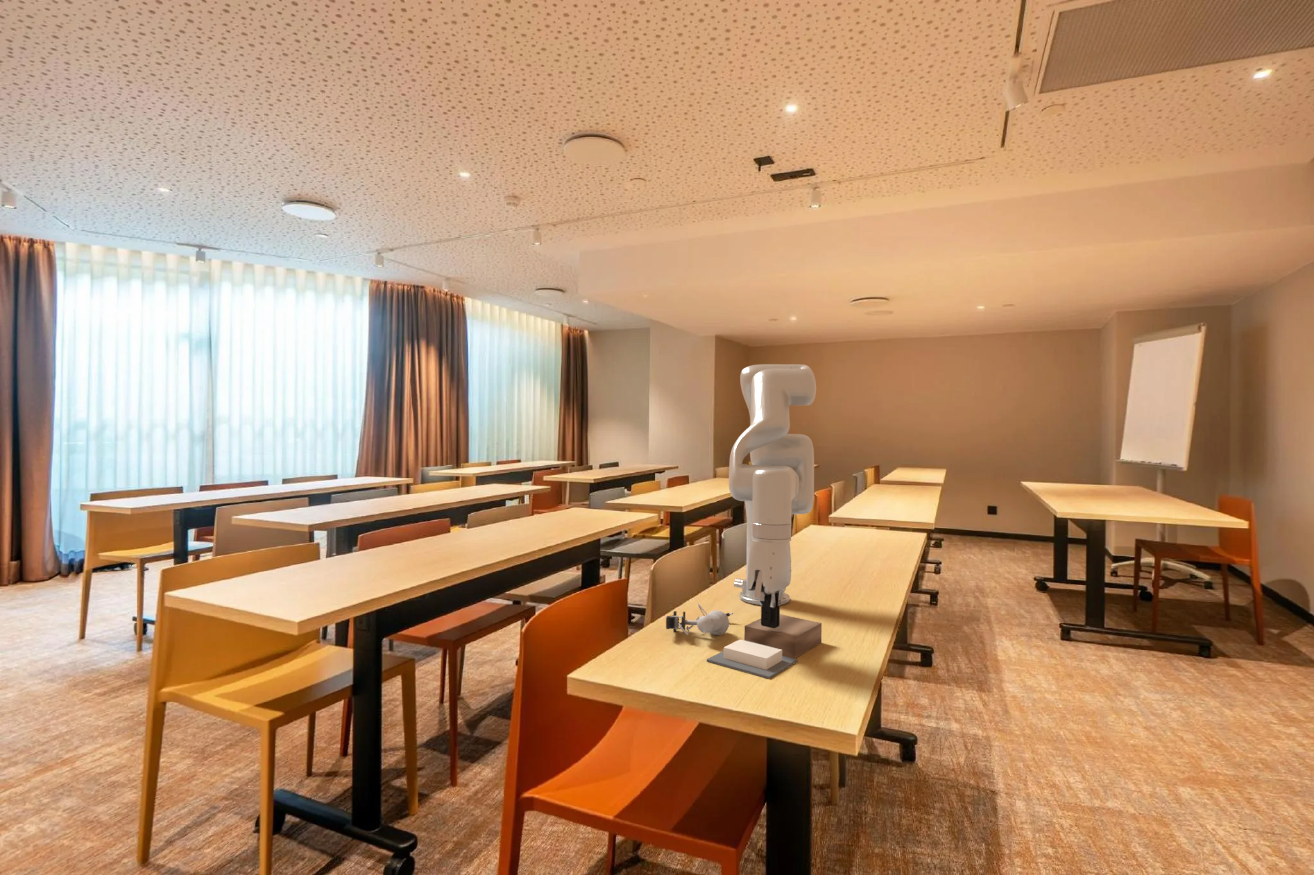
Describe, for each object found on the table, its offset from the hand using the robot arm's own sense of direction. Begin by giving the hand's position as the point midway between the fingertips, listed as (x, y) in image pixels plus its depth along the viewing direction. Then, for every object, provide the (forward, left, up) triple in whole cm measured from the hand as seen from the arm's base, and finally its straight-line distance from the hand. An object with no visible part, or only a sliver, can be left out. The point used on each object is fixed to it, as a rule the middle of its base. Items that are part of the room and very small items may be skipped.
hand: (770, 626), depth 122 cm
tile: (0, -7, -3) cm, 7 cm away
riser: (0, +6, -5) cm, 8 cm away
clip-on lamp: (-17, +2, -5) cm, 18 cm away
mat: (0, -7, -5) cm, 8 cm away
